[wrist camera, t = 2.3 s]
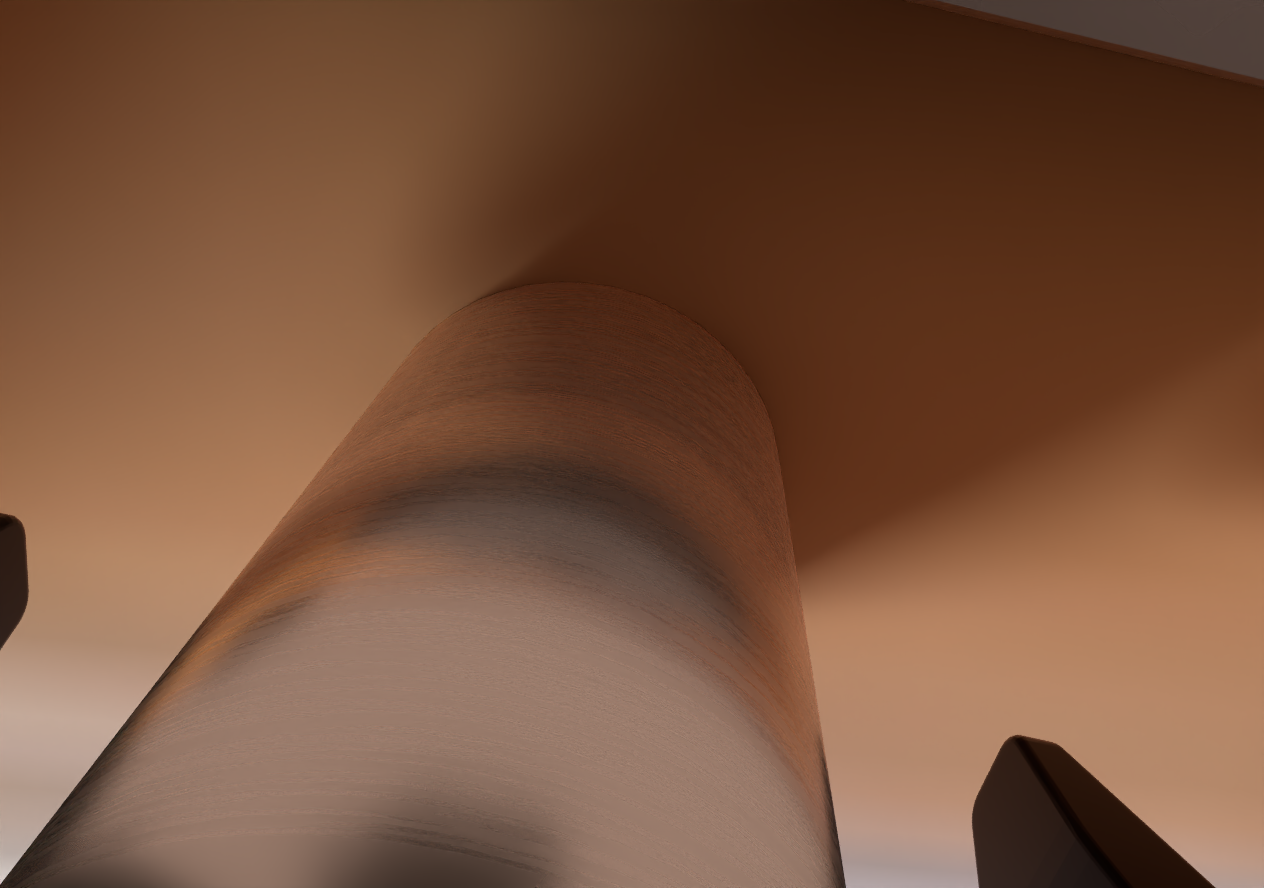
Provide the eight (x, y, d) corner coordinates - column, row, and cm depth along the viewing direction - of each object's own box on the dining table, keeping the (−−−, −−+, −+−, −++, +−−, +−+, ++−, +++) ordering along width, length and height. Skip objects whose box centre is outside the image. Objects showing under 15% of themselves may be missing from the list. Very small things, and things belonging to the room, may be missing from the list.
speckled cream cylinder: (720, 679, 13) (740, 1492, 6) (356, 599, 13) (-56, 1343, 6) (830, 337, 11) (1057, 979, 4) (398, 237, 11) (-160, 723, 4)
